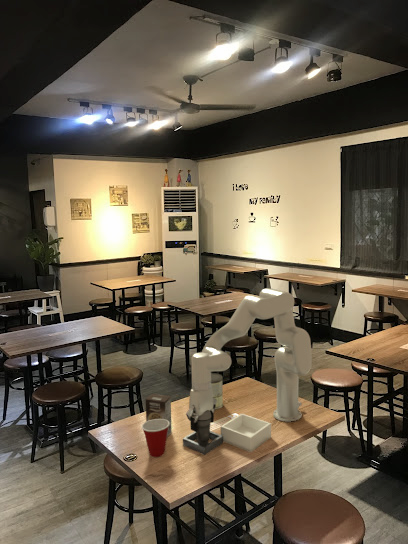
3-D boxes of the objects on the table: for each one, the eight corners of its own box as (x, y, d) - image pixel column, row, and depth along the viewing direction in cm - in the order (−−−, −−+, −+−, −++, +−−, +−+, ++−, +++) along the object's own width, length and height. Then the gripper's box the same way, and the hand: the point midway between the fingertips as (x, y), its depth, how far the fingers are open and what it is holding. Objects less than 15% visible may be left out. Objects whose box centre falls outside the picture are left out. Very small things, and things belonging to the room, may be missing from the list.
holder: (201, 434, 183) (201, 427, 182) (223, 442, 175) (223, 435, 175) (183, 445, 174) (182, 438, 174) (204, 455, 167) (204, 447, 166)
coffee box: (146, 435, 182) (144, 399, 180) (153, 428, 188) (151, 392, 186) (166, 439, 179) (164, 401, 177) (172, 431, 185) (171, 395, 183)
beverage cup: (210, 449, 170) (209, 400, 168) (192, 448, 172) (190, 399, 169) (213, 440, 177) (212, 393, 175) (196, 438, 179) (194, 392, 176)
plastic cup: (159, 442, 177) (158, 414, 175) (176, 452, 169) (175, 423, 167) (136, 453, 169) (135, 423, 168) (153, 464, 162) (152, 433, 160)
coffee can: (198, 408, 207) (197, 379, 205) (205, 399, 217) (205, 372, 215) (219, 411, 204) (218, 382, 202) (225, 402, 213) (225, 374, 211)
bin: (241, 426, 188) (241, 413, 187) (271, 437, 179) (271, 423, 178) (220, 440, 177) (220, 426, 176) (250, 452, 168) (250, 437, 167)
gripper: (208, 376, 180) (209, 415, 182) (179, 389, 167) (180, 431, 169) (222, 380, 175) (223, 420, 178) (193, 394, 162) (194, 437, 165)
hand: (202, 426), depth 174 cm, fingers open, 9 cm apart
